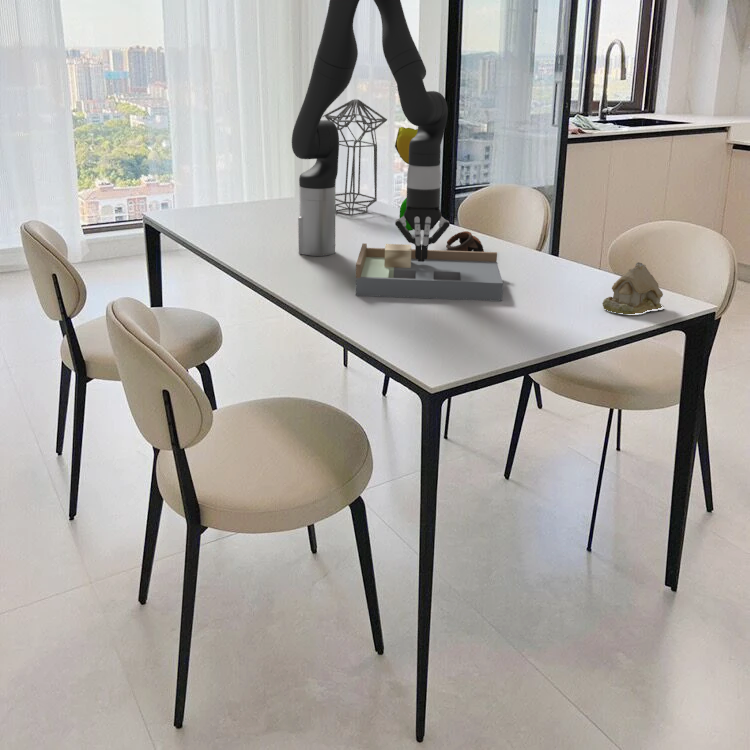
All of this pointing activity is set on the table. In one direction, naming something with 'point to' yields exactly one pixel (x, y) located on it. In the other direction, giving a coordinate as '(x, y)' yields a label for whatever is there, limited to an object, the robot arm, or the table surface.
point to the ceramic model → (634, 292)
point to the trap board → (431, 275)
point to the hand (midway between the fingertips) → (421, 260)
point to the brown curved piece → (465, 242)
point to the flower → (404, 157)
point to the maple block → (398, 255)
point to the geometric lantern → (342, 114)
